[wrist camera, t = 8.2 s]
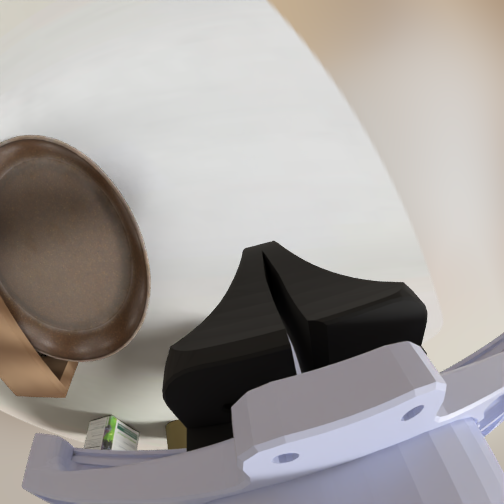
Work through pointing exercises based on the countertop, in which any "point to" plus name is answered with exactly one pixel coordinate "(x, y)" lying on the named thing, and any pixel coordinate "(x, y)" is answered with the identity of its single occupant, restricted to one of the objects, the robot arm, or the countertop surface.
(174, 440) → the cork
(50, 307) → the plant saucer
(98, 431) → the syrup box
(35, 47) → the countertop surface
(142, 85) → the countertop surface
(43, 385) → the walnut shelf
